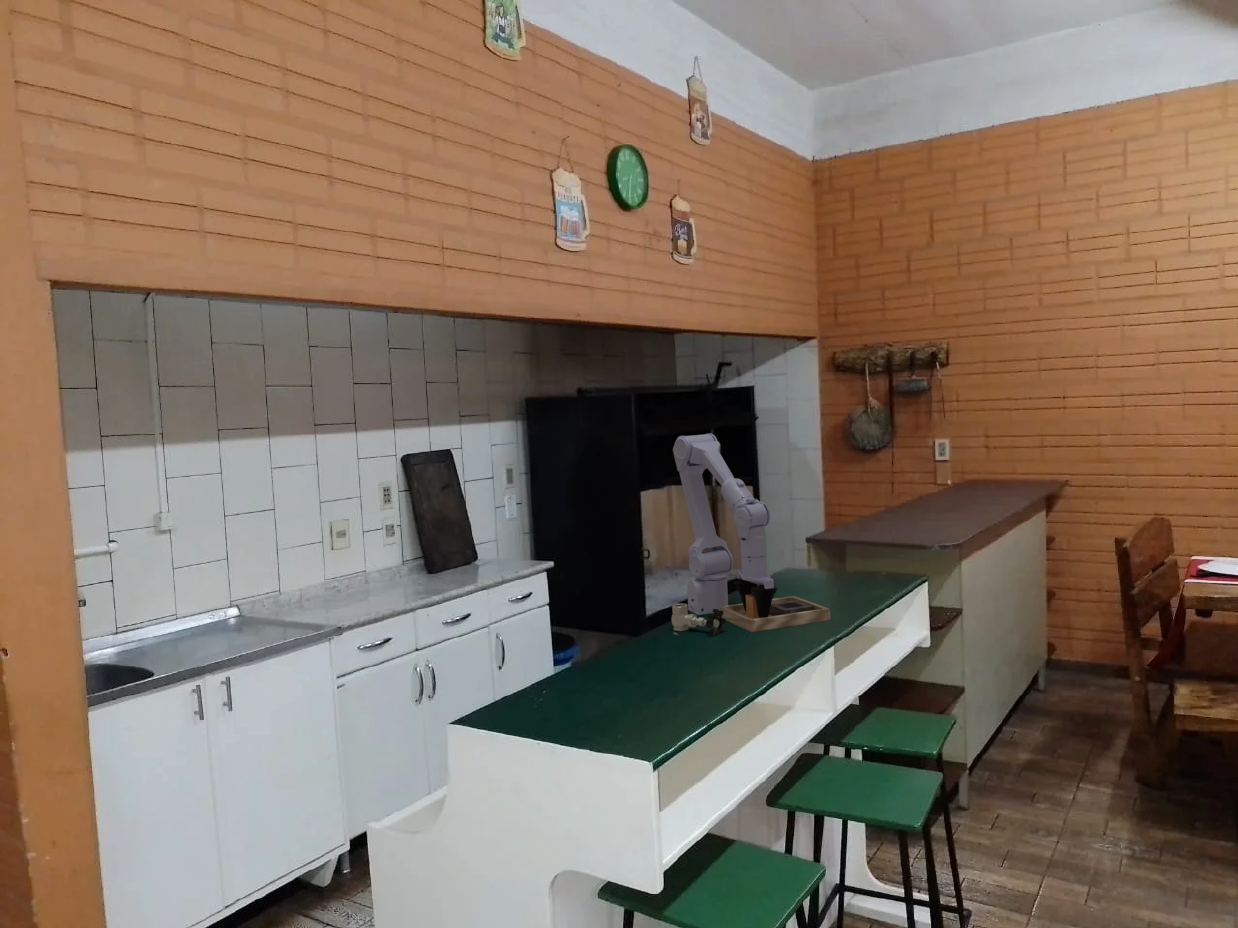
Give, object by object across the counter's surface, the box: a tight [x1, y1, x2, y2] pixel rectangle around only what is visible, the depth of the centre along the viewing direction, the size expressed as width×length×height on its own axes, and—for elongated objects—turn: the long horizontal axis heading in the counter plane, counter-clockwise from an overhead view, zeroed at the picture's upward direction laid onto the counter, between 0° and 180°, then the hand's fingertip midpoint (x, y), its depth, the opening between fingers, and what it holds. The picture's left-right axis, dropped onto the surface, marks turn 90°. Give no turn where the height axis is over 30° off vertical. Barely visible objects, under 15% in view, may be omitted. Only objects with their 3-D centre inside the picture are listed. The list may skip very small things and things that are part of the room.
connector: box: [746, 590, 759, 619], centre depth 214 cm, size 3×3×7 cm
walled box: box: [720, 595, 831, 633], centre depth 215 cm, size 20×16×4 cm
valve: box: [671, 603, 727, 637], centre depth 208 cm, size 7×7×12 cm
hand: (756, 614), depth 214 cm, fingers open, 6 cm apart
